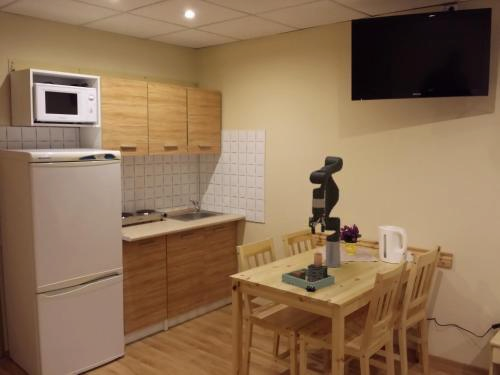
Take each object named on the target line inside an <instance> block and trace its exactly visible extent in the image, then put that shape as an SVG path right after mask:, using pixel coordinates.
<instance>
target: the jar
mask: <svg viewBox="0 0 500 375" xmlns="http://www.w3.org/2000/svg"><path fill="white" fill-rule="evenodd" d="M313 264H314V266H315V267H321V266H322V265H323V254H322V252H315V253H313Z"/></svg>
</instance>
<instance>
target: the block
mask: <svg viewBox="0 0 500 375" xmlns="http://www.w3.org/2000/svg"><path fill="white" fill-rule="evenodd" d="M295 270H296V271H295ZM295 270H292V271H293V272H292V277H296V278H299V279H302V280H306V281H307V279H306V277H307V276H306V272H304V271H300V270H298V269H295Z"/></svg>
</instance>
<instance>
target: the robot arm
mask: <svg viewBox="0 0 500 375" xmlns="http://www.w3.org/2000/svg"><path fill="white" fill-rule="evenodd" d="M343 166H344V160H343V158H342V157H339V156H330V155H329V156H326V157H325V160H324V166H322V167H320V169H317V170H314V171H312V172H311V173H310V174H309V178H308V179H309V182H310V183H311V184H313V185H320V186H318V187H314V188H313V189H312V201H311V214H312V216H309V217H308V227H309V228H310V229H311V235H316V227H317V225H321V226H320V233H325V231H327V232H329V231H332V232H333V233H332V234H328V235H326V237H325V266H328V267H329V268H338V267H340V266H341V244H340V243H341V223H342V222H341V218H340V217H338V216H334V217H333V216H330V215H331V213H332V211H333V209H334V207H336V205H337V204H338V202H339V200H340V199H339V198H340V189H339V186H338V184H337V183H336V182H335V179H334V177H333V176H332V175H334V174H336V173H338V172H341V170H342V169H343Z"/></svg>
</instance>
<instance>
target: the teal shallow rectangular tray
mask: <svg viewBox="0 0 500 375" xmlns="http://www.w3.org/2000/svg"><path fill="white" fill-rule="evenodd" d="M296 270H300V271H304V272H306V277H308V268H306V267H302V268H299V269H295V270H292V271H288V272H285V273H282V274H281V282H283V283H285V284H289V285H292V286H295V287H299V288H302V289H304V290H305V289H306V287H307V286H310V287H312V288H313V287H315V289H316V290H319V289H322V288H327V287H329V286H331V285H334V284H335V278H336V277H335V275H332V274H329V273H327V278H325V279H322V280H318V281H315V282H309V281H308V280H307V279H306V280H302V279H299V278H296V277H292V272H293V271H296ZM306 290H307V289H306ZM316 290H315V291H316Z"/></svg>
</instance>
